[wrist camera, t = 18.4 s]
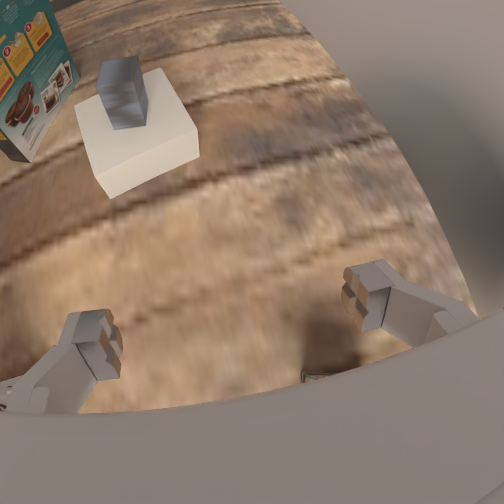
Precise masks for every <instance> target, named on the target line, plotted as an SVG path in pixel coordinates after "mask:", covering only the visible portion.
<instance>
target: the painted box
mask: <svg viewBox="0 0 504 504" xmlns="http://www.w3.org/2000/svg"><path fill="white" fill-rule="evenodd" d="M142 77H143V81H144V85H145V89H146V94H147V98H148V111H147V121H146V126H142V127H134V128H127V129H120V130H114V129H113V127H112V124H111V122H110V120H109V117H108V115H107V113H106V110H105V108H104V106H103V103H102V101H101V99H100V96H99V94H96V95H94V96H92V97H90V98H88V99H86V100H84V101H82V102H81V103H79V104H77V105H75V106H74V108H75V112H76V116H77V120H78V123H79V127H80V131H81V134H82V138H83V141H84V144H85V148H86V151H87V154H88V158H89V161H90V164H91V167H92V170H93V173H94V176H95V178H96V179H97V181H98V182H99V184H100V185H101V186H102V188H103V189H104V191H105V192H106V193H107V195H108V196H109V198H110V199H112V198H114V197H116V196H118V195H120V194H121V193H123V192H125V191H127V190H129V189H131V188H133V187H135V186H137V185H139V184H141V183H143V182H146V181H148V180H150V179H152V178H154V177H156V176H158V175H160V174H162V173H165V172H167V171H169V170H171V169H173V168H175V167H178V166H180V165H182V164H184V163H187V162H189V161H191V160H193V159H196V158H198V157H200V154H199V143H198V132H197V128H196V126H195V124H194V123H193V121H192V119H191V117H190V116H189V114H188V112H187V111H186V109H185V107H184V106H183V104H182V102H181V101H180V99H179V97H178V96H177V94H176V92H175V91H174V89H173V87H172V86H171V84H170V82H169V80H168V79H167V77H166V75H165V74H164V72H163V70H162V69H161V67H160V68H157V69H154V70H152V71H149V72H147V73H144V74H142Z"/></svg>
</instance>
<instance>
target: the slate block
mask: <svg viewBox="0 0 504 504" xmlns="http://www.w3.org/2000/svg"><path fill="white" fill-rule="evenodd" d="M96 89H97V91H98V94H99V96H100V99H101V101H102V103H103V106H104V108H105V110H106V113H107V115H108V117H109V120H110V122H111V124H112V127H113V129H114V130H120V129H127V128H134V127H142V126H146V121H147V111H148V98H147V94H146V89H145V85H144V81H143V77H142V73H141V68H140V64H139V59H138V55H137V56H131V57H125V58H119V59H113V60H108V61H103V62H102V65H101V68H100V72H99V75H98V79H97V82H96Z"/></svg>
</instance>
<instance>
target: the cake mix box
mask: <svg viewBox="0 0 504 504" xmlns="http://www.w3.org/2000/svg"><path fill="white" fill-rule="evenodd" d="M79 80H80V77H79V74H78V72H77V70H76V67H75V65H74V63H73V60H72V58H71V56H70V53H69V51H68V48H67V46H66V43H65V41H64V38H63V36H62V33H61V31H60V28H59V26H58V23H57V21H56V18H55V15H54V13H53V10H52V7H51V5H50V2H49V0H0V149H1V150H2V151H3V152H4V153H5V154H6V155H7V156H8V157H9V158H10V159H11V160H13V161H20V162H27V163H31V162H32V160H33V158H34V156H35V154H36V152H37V150H38V148H39V146H40V144H41V142H42V141H43V139H44V137H45V135H46V133H47V131H48V130H49V128H50V126H51V124H52V123H53V121H54V119H55V117H56V116H57V114H58V112H59V111H60V109H61V107H62V106H63V104H64V103H65V101H66V99H67V98H68V96H69V95H70V93H71V92H72V90H73V89H74V87H75V86H76V84H77V83H78V81H79Z"/></svg>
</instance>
